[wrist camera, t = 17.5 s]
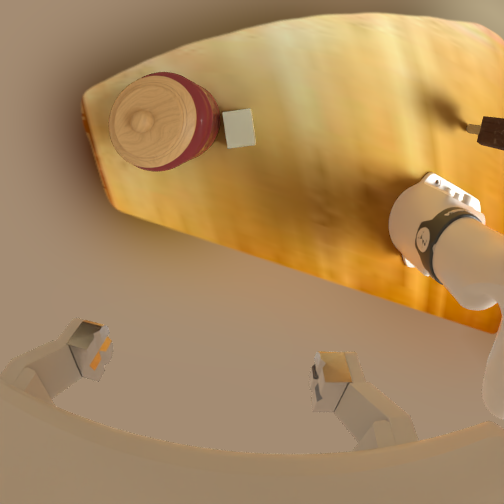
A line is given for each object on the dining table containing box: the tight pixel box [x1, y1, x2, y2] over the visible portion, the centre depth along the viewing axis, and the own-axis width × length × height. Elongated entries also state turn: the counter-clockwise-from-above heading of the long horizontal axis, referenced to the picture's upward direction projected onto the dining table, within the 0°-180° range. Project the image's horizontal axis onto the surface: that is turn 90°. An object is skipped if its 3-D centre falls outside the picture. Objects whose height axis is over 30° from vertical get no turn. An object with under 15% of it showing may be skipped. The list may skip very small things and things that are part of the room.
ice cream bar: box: [466, 116, 504, 150], centre depth 32 cm, size 5×2×15 cm, turn 164°
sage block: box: [222, 108, 256, 149], centre depth 41 cm, size 4×6×4 cm
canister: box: [109, 72, 220, 171], centre depth 35 cm, size 13×13×18 cm
